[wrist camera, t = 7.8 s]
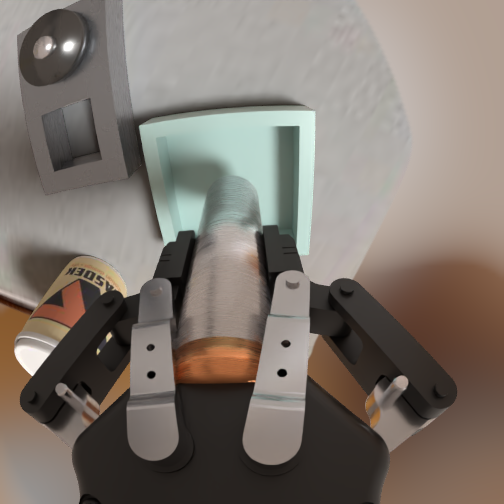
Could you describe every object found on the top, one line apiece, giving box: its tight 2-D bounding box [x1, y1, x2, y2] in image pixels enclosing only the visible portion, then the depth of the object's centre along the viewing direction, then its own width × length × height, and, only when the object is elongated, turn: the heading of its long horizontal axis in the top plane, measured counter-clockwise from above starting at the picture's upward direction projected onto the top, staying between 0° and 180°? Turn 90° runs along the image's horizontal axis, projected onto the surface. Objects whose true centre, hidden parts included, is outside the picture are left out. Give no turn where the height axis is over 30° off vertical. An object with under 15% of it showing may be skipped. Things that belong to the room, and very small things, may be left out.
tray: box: [139, 105, 315, 255], centre depth 20 cm, size 11×11×3 cm
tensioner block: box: [17, 0, 141, 195], centre depth 14 cm, size 14×8×5 cm, turn 3°
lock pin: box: [176, 175, 272, 384], centre depth 13 cm, size 3×3×13 cm
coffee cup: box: [14, 256, 127, 376], centre depth 22 cm, size 9×9×12 cm
